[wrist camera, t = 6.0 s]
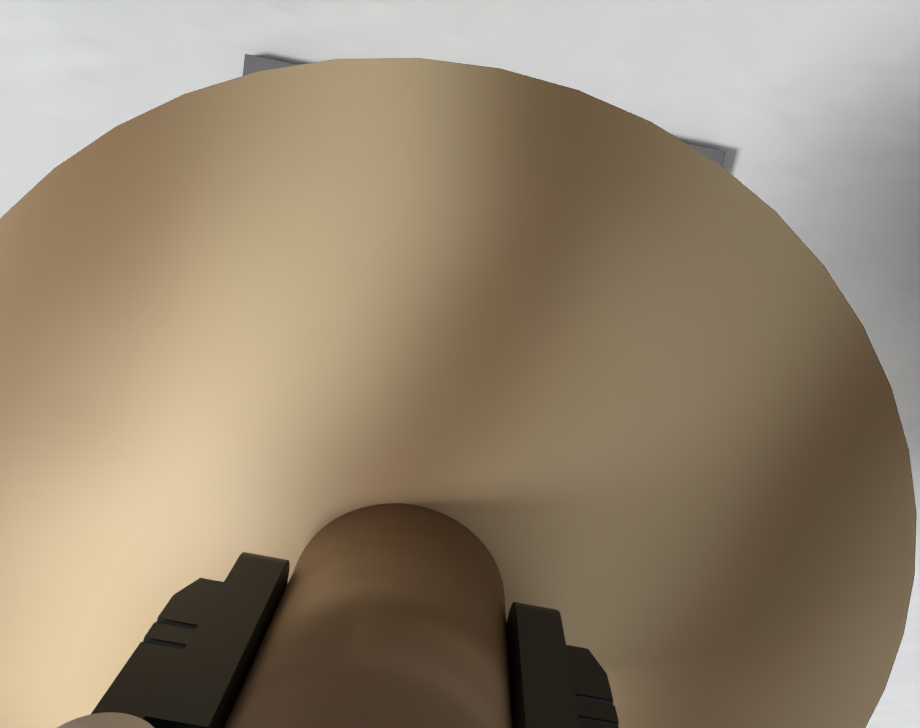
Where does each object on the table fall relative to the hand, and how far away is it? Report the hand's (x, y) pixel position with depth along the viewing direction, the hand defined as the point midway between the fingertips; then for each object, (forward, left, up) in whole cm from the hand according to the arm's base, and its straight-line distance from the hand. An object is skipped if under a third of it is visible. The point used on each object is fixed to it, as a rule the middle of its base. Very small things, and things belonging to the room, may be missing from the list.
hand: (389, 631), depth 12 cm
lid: (0, 0, -2) cm, 2 cm away
